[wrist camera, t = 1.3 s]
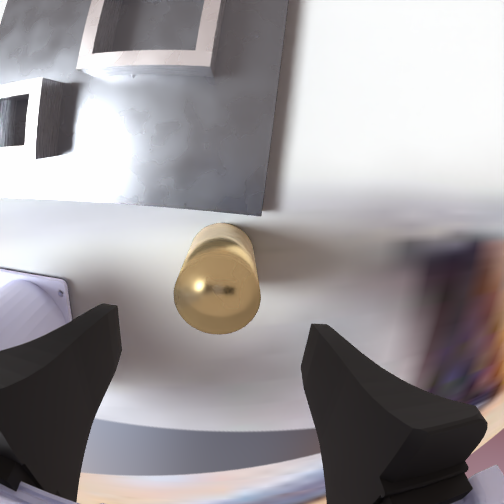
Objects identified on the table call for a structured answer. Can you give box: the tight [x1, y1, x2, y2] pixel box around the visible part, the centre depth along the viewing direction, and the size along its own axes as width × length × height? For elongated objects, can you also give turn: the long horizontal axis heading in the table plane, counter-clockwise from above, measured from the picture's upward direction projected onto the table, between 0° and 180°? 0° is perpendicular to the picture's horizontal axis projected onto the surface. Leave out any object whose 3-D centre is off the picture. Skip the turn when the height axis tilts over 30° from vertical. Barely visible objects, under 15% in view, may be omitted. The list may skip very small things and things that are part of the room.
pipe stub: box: [174, 223, 261, 334], centre depth 17 cm, size 4×4×6 cm
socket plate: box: [0, 0, 289, 216], centre depth 14 cm, size 16×20×4 cm
